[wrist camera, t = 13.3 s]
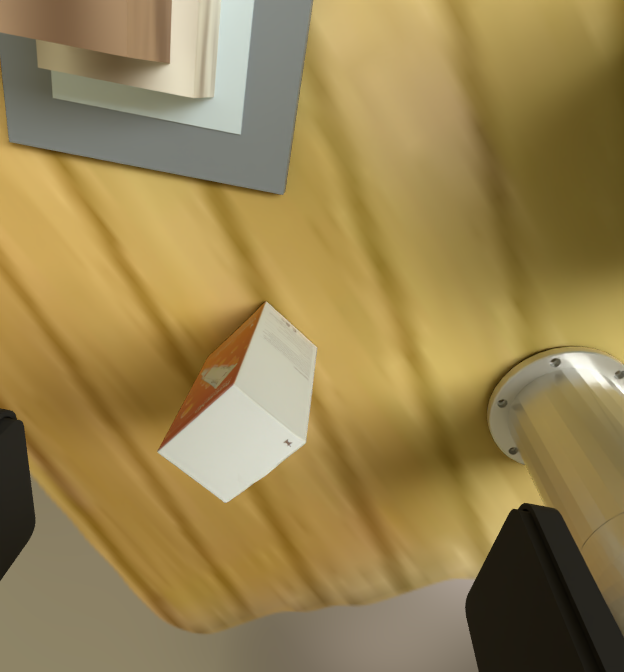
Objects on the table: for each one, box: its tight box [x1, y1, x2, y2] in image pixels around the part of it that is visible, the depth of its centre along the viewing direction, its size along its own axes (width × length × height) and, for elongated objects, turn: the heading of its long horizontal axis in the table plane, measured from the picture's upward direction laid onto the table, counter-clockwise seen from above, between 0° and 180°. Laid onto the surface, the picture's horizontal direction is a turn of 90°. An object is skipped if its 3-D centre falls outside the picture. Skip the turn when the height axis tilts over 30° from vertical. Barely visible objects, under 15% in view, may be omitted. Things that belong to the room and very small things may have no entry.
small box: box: [157, 302, 317, 503], centre depth 37 cm, size 8×6×13 cm
